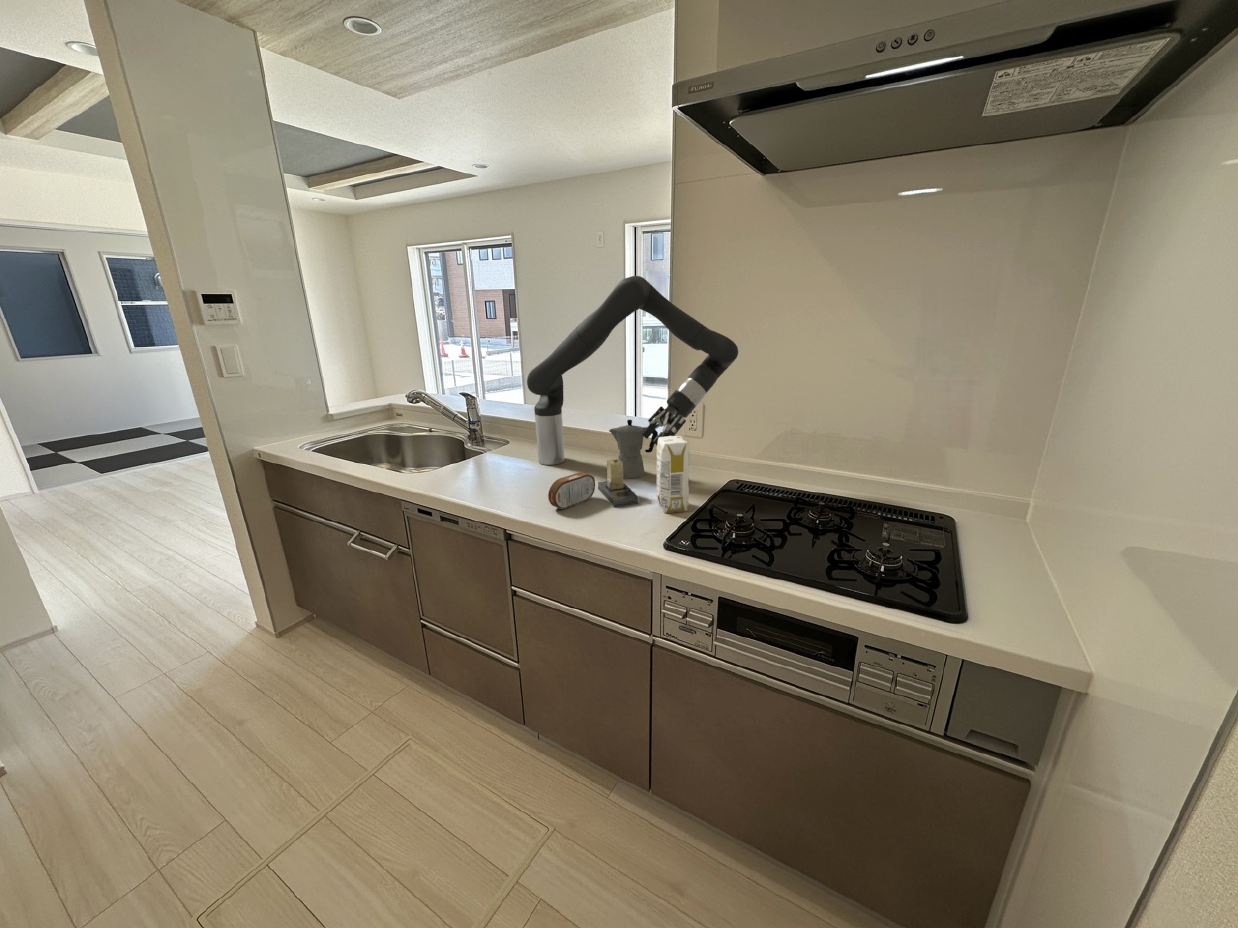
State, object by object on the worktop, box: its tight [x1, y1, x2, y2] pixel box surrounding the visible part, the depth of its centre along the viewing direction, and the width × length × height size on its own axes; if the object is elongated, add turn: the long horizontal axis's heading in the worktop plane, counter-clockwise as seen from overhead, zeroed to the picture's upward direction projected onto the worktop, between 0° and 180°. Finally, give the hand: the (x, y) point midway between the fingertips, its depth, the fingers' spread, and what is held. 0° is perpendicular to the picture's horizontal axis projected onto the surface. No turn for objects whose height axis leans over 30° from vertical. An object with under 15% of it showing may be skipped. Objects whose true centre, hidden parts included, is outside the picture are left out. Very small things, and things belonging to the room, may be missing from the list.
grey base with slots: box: [597, 480, 639, 508], centre depth 139 cm, size 15×7×2 cm, turn 19°
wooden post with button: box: [606, 458, 625, 492], centre depth 139 cm, size 4×4×10 cm
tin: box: [547, 471, 596, 510], centre depth 133 cm, size 15×3×8 cm, turn 135°
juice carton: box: [656, 435, 691, 514], centre depth 128 cm, size 8×9×19 cm
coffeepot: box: [608, 419, 659, 479], centre depth 154 cm, size 15×9×18 cm, turn 83°
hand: (649, 440), depth 139 cm, fingers open, 8 cm apart
